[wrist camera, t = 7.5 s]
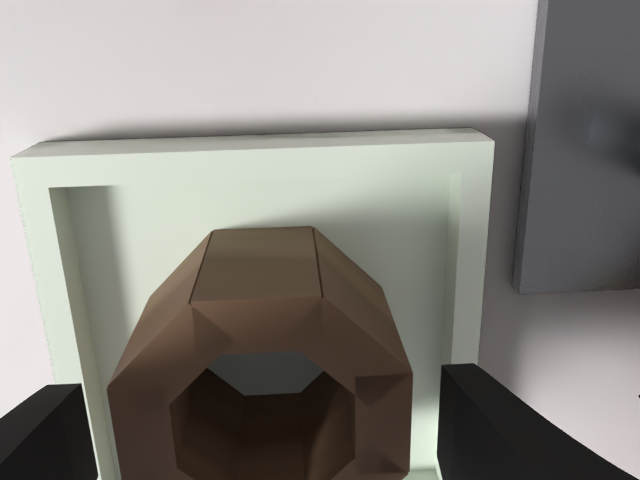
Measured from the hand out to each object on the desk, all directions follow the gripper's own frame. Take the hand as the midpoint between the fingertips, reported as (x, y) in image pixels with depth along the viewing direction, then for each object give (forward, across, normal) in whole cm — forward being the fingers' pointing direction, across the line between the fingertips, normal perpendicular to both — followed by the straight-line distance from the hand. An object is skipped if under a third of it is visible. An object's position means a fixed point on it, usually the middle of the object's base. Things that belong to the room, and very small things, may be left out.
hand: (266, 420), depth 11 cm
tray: (+4, 0, 0) cm, 4 cm away
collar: (+3, 0, 0) cm, 3 cm away
